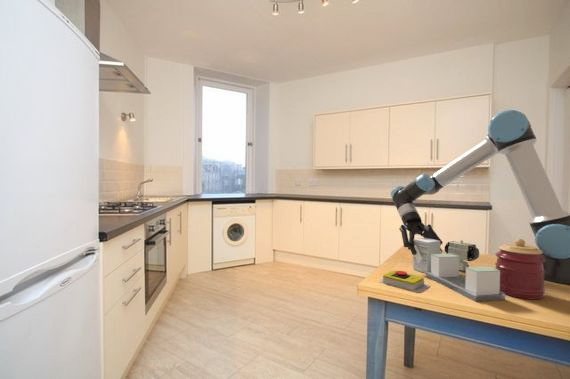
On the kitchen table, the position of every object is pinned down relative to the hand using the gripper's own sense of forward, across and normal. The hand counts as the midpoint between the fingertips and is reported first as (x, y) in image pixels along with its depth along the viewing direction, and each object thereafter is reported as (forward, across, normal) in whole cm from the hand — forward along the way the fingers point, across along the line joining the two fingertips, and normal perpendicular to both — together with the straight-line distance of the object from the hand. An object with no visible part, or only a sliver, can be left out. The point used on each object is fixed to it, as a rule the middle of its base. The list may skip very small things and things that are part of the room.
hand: (431, 261), depth 119 cm
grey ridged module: (+1, 0, -6) cm, 6 cm away
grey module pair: (+14, 0, +9) cm, 16 cm away
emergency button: (+11, +18, +3) cm, 21 cm away
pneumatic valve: (+2, -15, -5) cm, 16 cm away
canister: (+20, -15, +13) cm, 28 cm away
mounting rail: (+15, 0, +8) cm, 17 cm away
